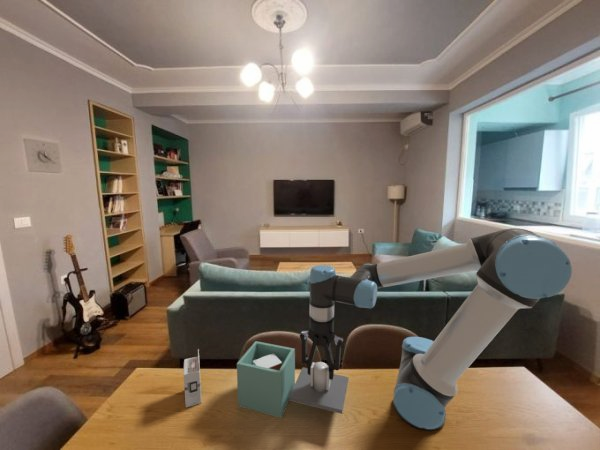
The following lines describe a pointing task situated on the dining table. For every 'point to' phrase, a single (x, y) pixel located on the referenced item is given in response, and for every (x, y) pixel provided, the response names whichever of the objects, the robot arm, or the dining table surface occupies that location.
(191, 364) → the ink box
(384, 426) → the dining table surface
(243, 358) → the box
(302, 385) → the lid
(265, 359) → the small box
